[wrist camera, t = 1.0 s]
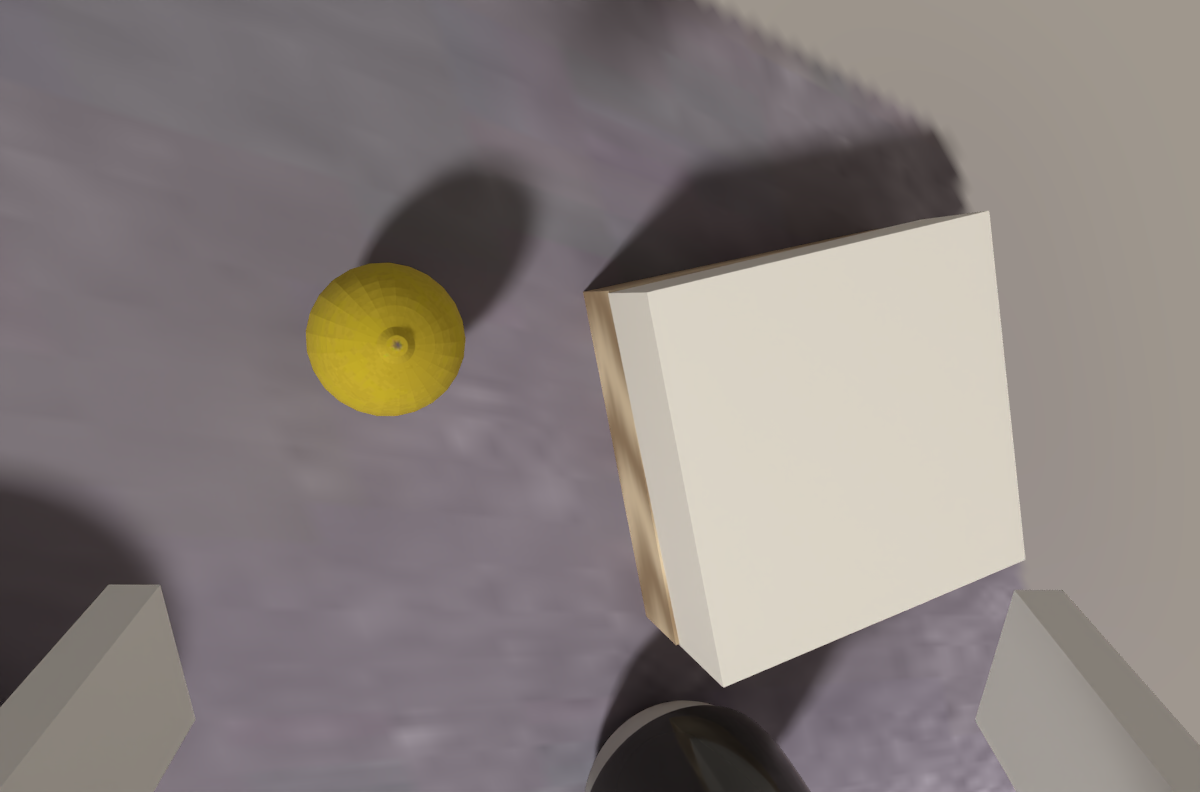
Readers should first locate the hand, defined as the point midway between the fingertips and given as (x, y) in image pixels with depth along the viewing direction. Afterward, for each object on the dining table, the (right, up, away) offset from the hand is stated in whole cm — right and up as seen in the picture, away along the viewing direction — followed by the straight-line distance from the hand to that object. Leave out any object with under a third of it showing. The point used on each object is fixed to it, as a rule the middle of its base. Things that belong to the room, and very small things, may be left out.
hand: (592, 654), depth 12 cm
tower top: (+9, +3, +23) cm, 25 cm away
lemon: (-9, +7, +20) cm, 23 cm away
